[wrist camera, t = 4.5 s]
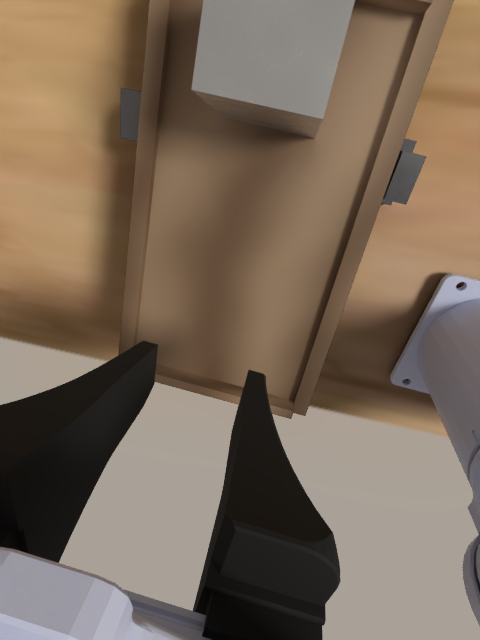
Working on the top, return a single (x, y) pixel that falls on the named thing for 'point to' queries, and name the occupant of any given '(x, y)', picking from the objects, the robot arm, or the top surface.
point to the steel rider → (270, 60)
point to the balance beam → (262, 206)
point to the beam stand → (398, 183)
